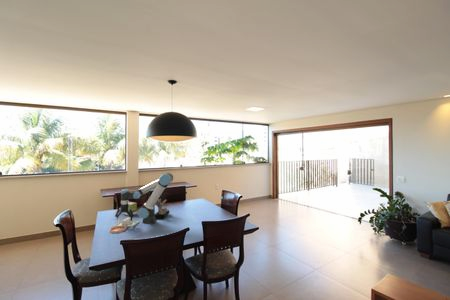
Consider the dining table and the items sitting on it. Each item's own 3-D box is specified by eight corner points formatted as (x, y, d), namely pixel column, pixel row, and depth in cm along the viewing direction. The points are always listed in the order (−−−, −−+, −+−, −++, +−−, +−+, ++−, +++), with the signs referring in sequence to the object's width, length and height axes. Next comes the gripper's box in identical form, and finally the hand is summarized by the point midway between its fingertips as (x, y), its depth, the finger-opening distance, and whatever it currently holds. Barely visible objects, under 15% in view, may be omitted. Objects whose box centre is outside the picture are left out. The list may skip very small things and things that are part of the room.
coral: (163, 219, 251) (163, 201, 251) (146, 219, 252) (146, 201, 252) (169, 213, 276) (169, 196, 276) (154, 212, 277) (154, 196, 277)
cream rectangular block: (130, 222, 238) (130, 217, 238) (129, 224, 233) (129, 218, 233) (127, 222, 238) (127, 217, 238) (125, 224, 233) (125, 218, 233)
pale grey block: (127, 224, 231) (127, 219, 231) (125, 226, 226) (125, 220, 226) (123, 224, 231) (123, 219, 231) (121, 226, 226) (121, 220, 226)
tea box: (122, 214, 270) (122, 203, 270) (128, 212, 279) (128, 201, 279) (130, 216, 264) (130, 204, 264) (136, 213, 273) (136, 202, 273)
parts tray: (138, 222, 239) (138, 221, 239) (132, 227, 224) (132, 226, 224) (121, 222, 240) (121, 221, 240) (113, 227, 225) (113, 225, 225)
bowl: (128, 227, 223) (128, 225, 223) (121, 233, 208) (121, 231, 208) (115, 227, 224) (115, 225, 224) (106, 232, 209) (106, 230, 209)
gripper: (137, 203, 232) (137, 222, 232) (115, 202, 233) (115, 221, 233) (134, 204, 224) (133, 224, 224) (111, 204, 226) (111, 224, 225)
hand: (124, 223), depth 229 cm, fingers open, 13 cm apart
